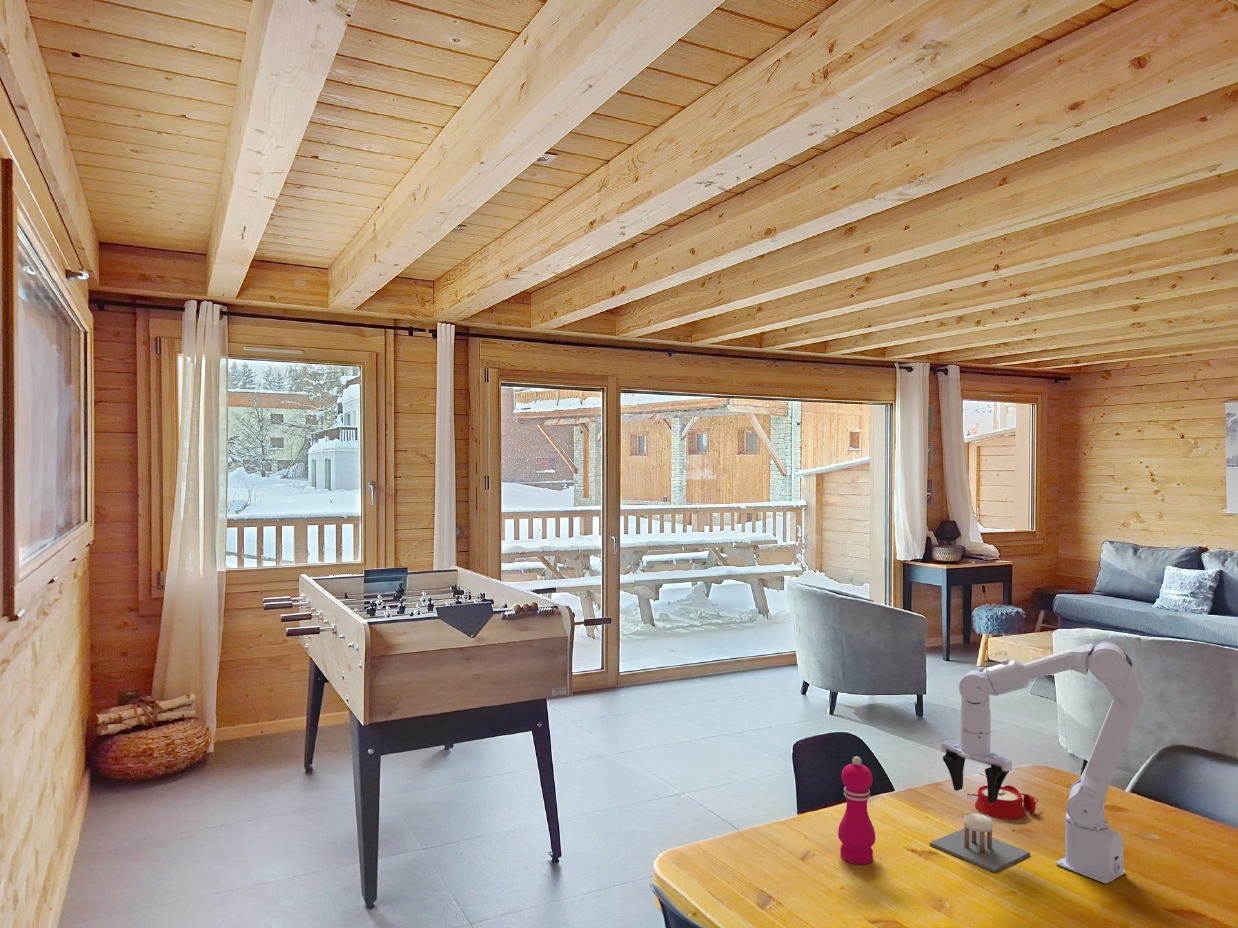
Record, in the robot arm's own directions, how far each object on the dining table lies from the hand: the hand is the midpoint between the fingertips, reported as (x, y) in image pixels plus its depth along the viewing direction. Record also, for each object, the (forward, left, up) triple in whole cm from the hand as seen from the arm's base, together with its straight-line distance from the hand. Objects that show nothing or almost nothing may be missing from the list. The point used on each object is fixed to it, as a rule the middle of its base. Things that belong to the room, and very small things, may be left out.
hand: (975, 795), depth 170 cm
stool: (-3, +3, -9) cm, 10 cm away
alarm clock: (+6, -22, -10) cm, 25 cm away
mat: (-3, +3, -10) cm, 10 cm away
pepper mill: (+9, +26, -10) cm, 30 cm away
